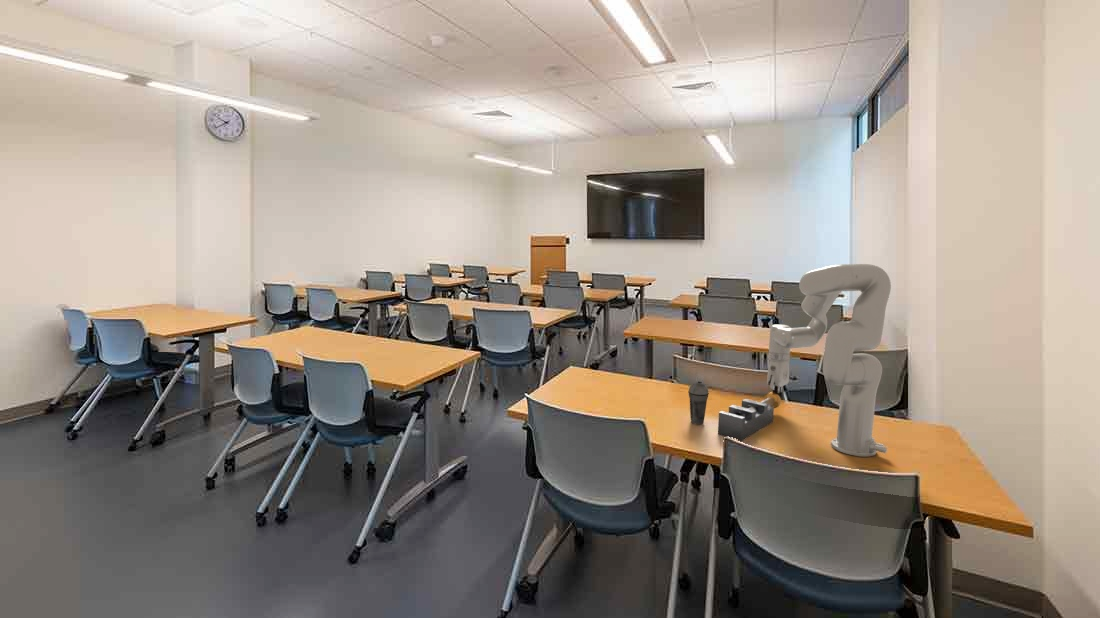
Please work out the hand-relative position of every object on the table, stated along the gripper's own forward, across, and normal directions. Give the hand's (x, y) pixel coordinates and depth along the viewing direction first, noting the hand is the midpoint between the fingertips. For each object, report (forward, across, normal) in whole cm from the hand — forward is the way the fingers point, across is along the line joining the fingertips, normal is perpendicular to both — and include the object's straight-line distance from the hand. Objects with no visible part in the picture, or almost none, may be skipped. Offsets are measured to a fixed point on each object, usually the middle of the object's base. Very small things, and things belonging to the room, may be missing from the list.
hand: (775, 401), depth 194 cm
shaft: (+2, -15, 0) cm, 16 cm away
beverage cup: (+4, -34, +15) cm, 37 cm away
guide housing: (+4, -25, 0) cm, 26 cm away
